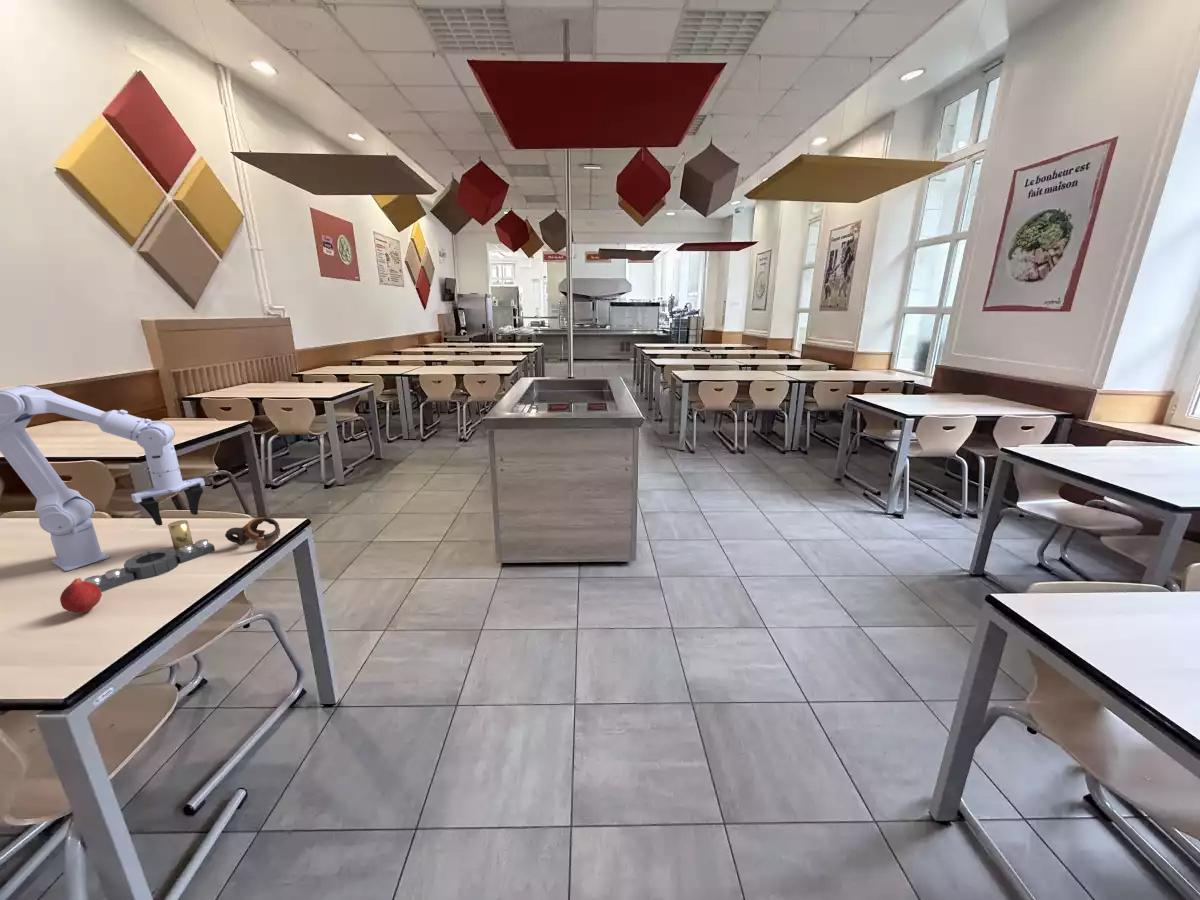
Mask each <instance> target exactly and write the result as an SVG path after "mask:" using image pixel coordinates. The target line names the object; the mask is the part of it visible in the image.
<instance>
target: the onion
mask: <svg viewBox="0 0 1200 900" xmlns="http://www.w3.org/2000/svg"><path fill="white" fill-rule="evenodd" d="M102 594H103V593H102V592H101V590H100V588H99V587H98V586H96V585H95V584H93V583H90V582H85V581H84V580H82V578H81V577H76V578H74V580H73V581H72V582H71V583H70V584H69V585H68V586H66V587H65V588H64V590H63V591H62V592H61V595H60V598H59V601H60V606H62V608H63V610H65V611H66V612H67V611H68V612H71V613H77V614H88V613H89V612H90V611H92V610H93V608H94V607H95V606H97V604H98V603H99V602H100V601H101V598H102Z"/></svg>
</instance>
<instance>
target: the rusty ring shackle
mask: <svg viewBox="0 0 1200 900" xmlns="http://www.w3.org/2000/svg"><path fill="white" fill-rule="evenodd" d="M265 522H266V523H268V525H269V524H270V525H273V526H274V530H273V531H272V532H269V533H266V531H265V530H264V529H258V526H259V525H262V524H263V523H265ZM224 535H225V536H224V537H225V538H226V539H227V540H228V541H229V542H232V543H235V544H237V545H239V546H240V547H241V546H243V545H244V544H245V543H246V542H247V541H249V540H251V541H253V542H256V546H255V549H256V550H258V551H259V550H260V551H263V550H264V549H265V548H266V546H269V545H271V544H272V543H274V542H275V541H277V539H278V538H279V536H280V535H281V528H280V524H279V522H278V521H276V520H275V519H273V518H271V517H268V516H267V517H266V516H264V517H263V516H262V517H256V518H253V519H251V520H249V521H248V522H247V523H246V524H245V525H244V526H242V527H231V528H229V529H227V531H226V532H225V534H224Z"/></svg>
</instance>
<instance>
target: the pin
mask: <svg viewBox="0 0 1200 900" xmlns="http://www.w3.org/2000/svg"><path fill="white" fill-rule="evenodd" d="M167 526H168V530H169V534H170V539H171V542H172V547H173V549H174V550H178V549H179V548H180V547H181V546H184V545H193V544H194V541H193V537H192V533H191V529H190V525H189V521H188V520H185V519H184V520H183V519H182V520H176V521H173V522H171V523H169V524H168V525H167Z"/></svg>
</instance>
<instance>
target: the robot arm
mask: <svg viewBox="0 0 1200 900" xmlns="http://www.w3.org/2000/svg"><path fill="white" fill-rule="evenodd" d="M48 413H51V414H52V413H54V414H57V415H61V416H65V417H68V418H72V419H76V420H80V421H84V422H88V423H91V424H94V425H97V426H98V428H100V430H101V431H102V432H103V433H107V434H109V435H110V434H111V435H113V436H117V437H119V438H122V439H126V440H130V441H133V442H135V443H137V445H139V446H140V448H142V449H143V450H144V454H145V459H146V462H147V466H148V470H149V475H150V478H151V483H152V486H153V487H151V488H147V489H145V490H142V491H139V492H134V493H132V494H130V495H131V498H132V499H131V500H132V502H133V503H136V504H139V505H140V506H141V507H143V508H144V509H145V511H146V512H148V513H147V514H149V515H150V517H151V518H152V520H153V522H154V523H155V525H156V526H163V525H164V524H163V520H162V516H161V514H160V507H159V502H158V501H156V499H155V498H158V497H162V496H165V495H170V494H173V493H177V492H178V493H179V492H181V491H184V493H185V496H186V499H187V502H188V507H189V512H190V514H191V515H194V516H196V515H199V512H198V511H199V503H200V500H201V497H202V495H203V492H204V486H206V482H205V479H204V478H202V477H197V478H193V479H185V480H183V477H182V473H181V470H180V464H179V460H178V456H177V453H176V449H175V445H174V441H172V440H173V439H174V438H175V436H176V431H175V429H174V428H173V427H172V425H170V424H168V423H166V422H165V421H162V420H158V421H157V420H156V421H153V422H152V419H150V418H141V417H139V416H135V415H131V414H129V412H128V411H127V410H125V409H120V410H116V409H112V410H109V411H105V410H101V409H99V408H95V407H94V406H90V405H87V404H85V403H81V402H80V401H76V400H74V399H70V398H68V397H65V396H63V395H60V394H57V393H55V392H53V391H52V390H50V389H46V388H40V387H37V386H36V385H31V384H21V385H18V386H16V387H11V388H6V389H0V453H1V454H2V455H3V457H4V459H5V460H6V461H7V462H8V463H9V465H10V466H11V467H12V469H13V470H14V471H15V473H16V474H17V476H18V477H19V478H20V479H21V480H22V482H23V483H24V484H25V486H26V487H27V488H28V489H29V490H30V492H31V494H32V495H33V496H34V497H35V498H36V503H35V508H34V513H36V515H37V517H38V521H39V522H38V523H39V526H40V528H41V529H42V530H43V531H45V532H47V533H48V534H50V540H51V541H50V542H51V544H52V547H53V549H54V553H55V557H56V558H55V559H52V560H51V562H52V563H53V564H54V565H55V566H57V567H59V568H60V569H62V570H63V571H65V572H68V571H72V570H76V569H78V568H81V567H85V566H88V565H90V564H93V563H97V562H100V561H104V560H107V559H109V558H110V555H108V554H106V553H104V552H103V551H102V550H101V546H100V543H99V539H98V536H97V534H96V530H95V526H94V524H93V520H92V517H93V516H94V514H95V511H96V508H95V505H94V503H93V502H91V501H90V500H89V499H87V498H85V497H84V496H82V495H81V493H80V492H79V490H75V489H72V488H69V487H68V486H67V485H66V484H65V482H64V481H63V480H62V478H61V477H60V476H59V474H58V473H57V471H56V470H55V468H54V467H53V466H52V465H51V464H50V462H49V460H48V459H47V458H46V456H44V453H43V452H42V451H41V450H40V448H39V447H38V446H37V444H36V443H35V442H34V440H33V439H32V437H31V436H30V435H29V434H28V432H27V430H26V428H27V426H28V425H29V423H30V421H31V420H32V419H33V417H35V416H36V415H41V414H48Z"/></svg>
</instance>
